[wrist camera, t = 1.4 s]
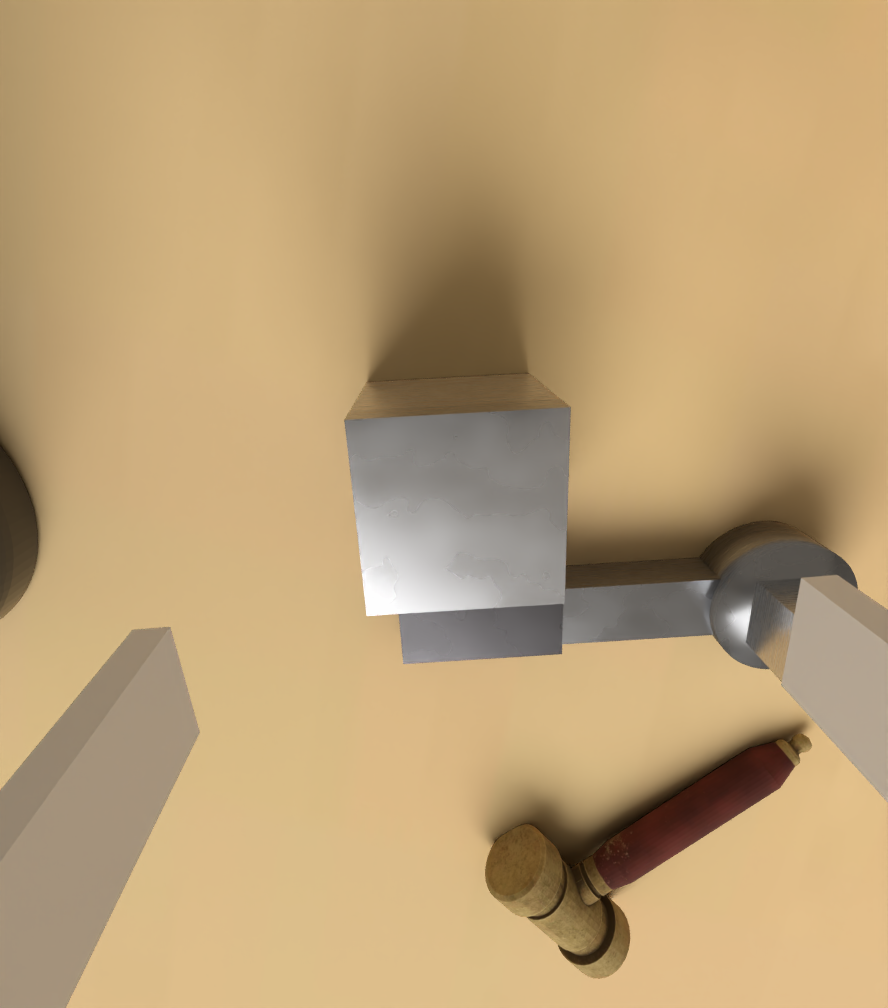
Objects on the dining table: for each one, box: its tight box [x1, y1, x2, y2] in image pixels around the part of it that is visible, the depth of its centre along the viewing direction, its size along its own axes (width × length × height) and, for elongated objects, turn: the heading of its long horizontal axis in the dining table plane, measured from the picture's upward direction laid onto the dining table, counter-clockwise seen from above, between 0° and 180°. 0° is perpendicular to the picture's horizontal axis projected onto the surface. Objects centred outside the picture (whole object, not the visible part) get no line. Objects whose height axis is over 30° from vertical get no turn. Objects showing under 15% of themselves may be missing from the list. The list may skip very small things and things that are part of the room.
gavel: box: [485, 734, 812, 979], centre depth 35 cm, size 21×5×10 cm
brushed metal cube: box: [345, 373, 571, 616], centre depth 24 cm, size 8×8×8 cm
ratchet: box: [399, 521, 858, 682], centre depth 27 cm, size 22×7×8 cm, turn 93°
